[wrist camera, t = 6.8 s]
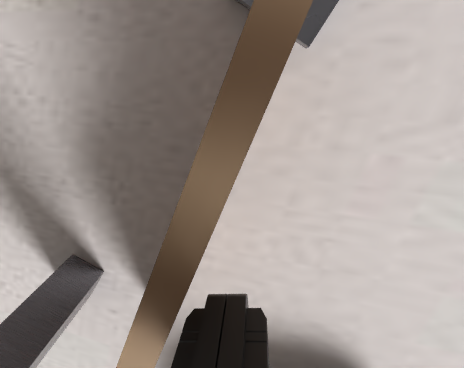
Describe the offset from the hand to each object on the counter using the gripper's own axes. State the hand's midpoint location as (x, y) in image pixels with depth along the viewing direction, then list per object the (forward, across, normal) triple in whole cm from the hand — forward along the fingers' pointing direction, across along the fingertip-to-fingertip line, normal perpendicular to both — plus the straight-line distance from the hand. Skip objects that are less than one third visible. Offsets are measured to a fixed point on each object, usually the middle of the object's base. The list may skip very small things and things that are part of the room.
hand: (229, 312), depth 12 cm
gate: (+7, +2, -3) cm, 8 cm away
